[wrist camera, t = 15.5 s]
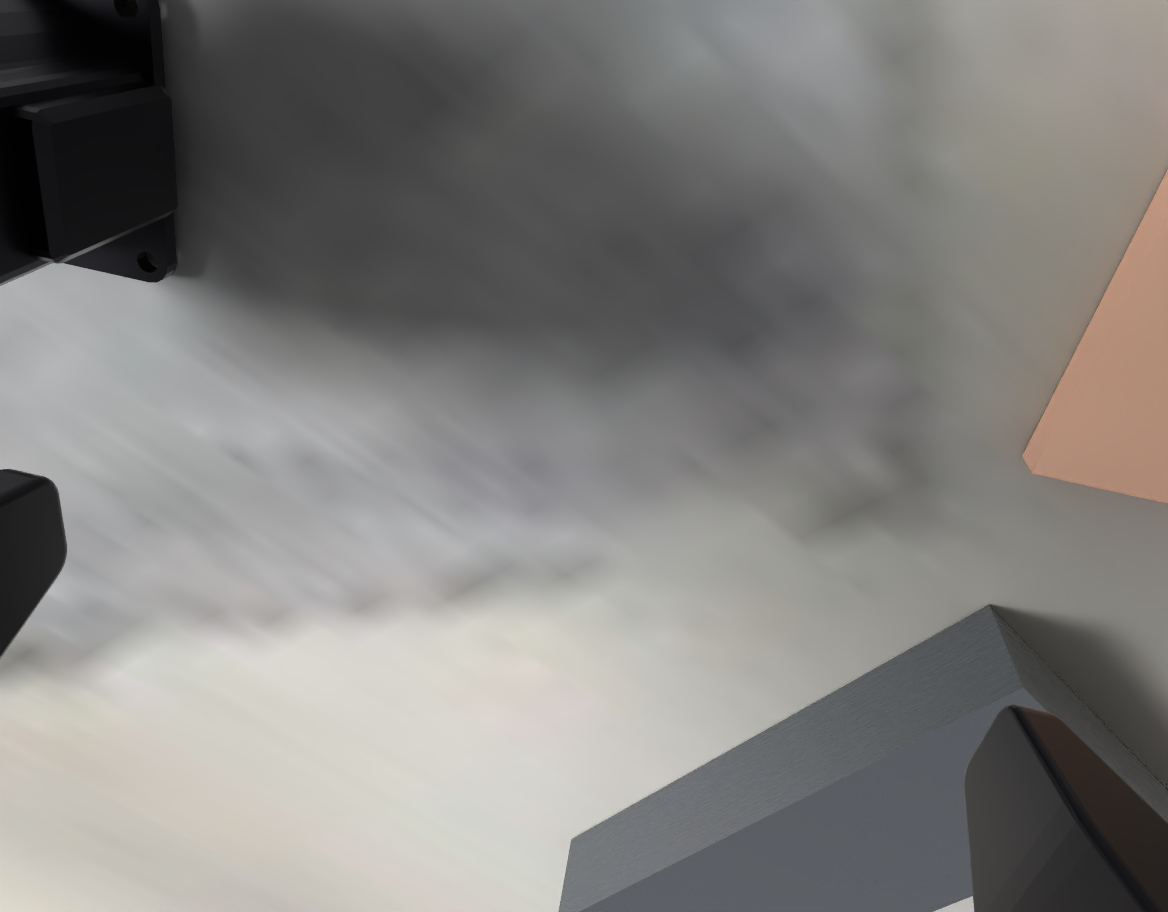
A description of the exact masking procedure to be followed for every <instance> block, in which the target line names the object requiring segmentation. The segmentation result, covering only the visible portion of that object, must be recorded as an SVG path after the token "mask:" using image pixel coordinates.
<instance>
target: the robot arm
mask: <svg viewBox="0 0 1168 912" xmlns="http://www.w3.org/2000/svg"><path fill="white" fill-rule="evenodd" d="M135 1H136V4H137V7H138V11H137V15H136V16H135V17H134V16H132V15H131V14H130V12H129V11H128V10H127V7H126V3H125V2H126V0H0V286H1V285H3V284H6V283H8V282H10V281H13V280H15V279H17V278H19V277H22V276H24V275H26V274H29V273H31V272H33V271H35V270H38V269H40V268H42V267H45V266H47V265H49V264H51V263H65V264H70V265H74V266H79V267H83V268H88V269H92V270H97V271H101V272H106V273H110V274H115V275H119V276H124V277H128V278H132V279H137V280H141V281H146V282H158V281H161V280H163V279H164V278H166V277H168V276H170V275H172V273H173V272H174V271H175V269H176V263H177V260H176V245H175V230H174V215H173V211H174V210H175V209H176V208H177V204H178V203H177V187H176V172H175V156H174V140H173V124H172V108H171V99H170V97H169V96H168V94H167V92H166V91H165V78H164V62H163V47H162V32H161V17H160V8H159V3H158V0H135ZM147 252H148V253H150V254H152V255H153V256H154V257H155V259H156V261H157V264H158V266H157V267H155V266H153V265H152V264H151V263H150V262H149V261H148V258H147ZM66 554H67V542H66V536H65V530H64V523H63V517H62V511H61V505H60V498H59V493H58V489H57V487H56V486H55V484H54V483H53V481H51V480H50V479H48V478H46V477H44V476H39V475H35V474H31V473H27V472H22V471H18V470H12V469H3V470H0V659H1V657H2V656H3V654H4V653H5V651H6V650H7V649H8V647H9V646H10V644H11V643H12V641H13V640H14V638H15V637H16V636H17V634H18V633H19V631H20V630H21V628H22V627H23V626H24V624H25V623H26V621H27V620H28V618H29V617H30V616H31V614H32V613H33V611H34V610H35V608H36V607H37V605H38V604H39V603H40V601H41V600H42V598H43V597H44V595H45V594H46V593H47V591H48V590H49V588H50V587H51V585H52V584H53V583H54V581H55V580H56V578H57V577H58V575H59V574H60V572H61V570H62V568H63V566H64V563H65V559H66ZM964 798H965V809H966V821H967V832H968V844H969V855H970V866H971V878H972V889H973V900H974V912H1168V822H1167V821H1166V820H1164V819H1163V818H1162V817H1161V816H1160V815H1159V814H1158V813H1157V812H1156V811H1155V810H1154V809H1153V808H1152V807H1151V806H1150V805H1149V804H1148V803H1147V802H1146V801H1145V800H1144V799H1143V798H1142V797H1141V796H1140V795H1139V794H1138V793H1137V792H1136V791H1135V790H1133V789H1132V788H1131V787H1130V786H1129V785H1128V784H1127V783H1126V782H1125V781H1124V780H1123V779H1122V778H1121V777H1120V776H1119V775H1118V774H1117V773H1116V772H1115V771H1114V770H1113V769H1112V768H1111V767H1110V766H1109V765H1108V764H1107V763H1106V762H1105V761H1104V760H1102V759H1101V758H1100V757H1099V756H1098V755H1097V754H1096V753H1095V752H1094V751H1093V750H1092V749H1091V748H1090V747H1089V746H1088V745H1087V744H1086V743H1085V742H1084V741H1083V740H1082V739H1081V738H1080V737H1079V736H1078V735H1077V734H1076V733H1075V732H1074V731H1073V730H1071V729H1070V728H1069V727H1068V726H1067V725H1066V724H1065V723H1064V722H1063V721H1062V720H1061V719H1060V718H1059V717H1057V716H1056V715H1054V714H1052V713H1049V712H1046V711H1042V710H1037V709H1033V708H1029V707H1024V706H1020V705H1014V704H1013V705H1007V706H1005V707H1004V708H1002V709H1001V710H1000V711H999V712H998V714H997V715H996V717H995V718H994V720H993V722H992V723H991V725H990V727H989V728H988V730H987V732H986V733H985V735H984V737H983V738H982V740H981V742H980V743H979V745H978V747H977V748H976V750H975V752H974V753H973V755H972V757H971V758H970V760H969V762H968V765H967V768H966V771H965V776H964Z"/></svg>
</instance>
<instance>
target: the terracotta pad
mask: <svg viewBox="0 0 1168 912" xmlns="http://www.w3.org/2000/svg"><path fill="white" fill-rule="evenodd" d="M1022 458H1023V459H1024V461H1025V463H1026V464H1027V466H1028V468H1029V469H1030V471H1031V472H1032V474H1037V475H1041V476H1046V477H1050V478H1055V479H1059V480H1064V481H1068V482H1073V483H1077V484H1081V485H1086V486H1090V487H1095V488H1099V489H1104V490H1108V491H1113V492H1117V493H1122V494H1126V495H1131V496H1135V497H1140V498H1144V499H1149V500H1153V501H1158V502H1162V503H1167V504H1168V170H1167V172H1166V174H1165V176H1164V178H1163V180H1162V182H1161V184H1160V185H1159V187H1158V189H1157V191H1156V193H1155V195H1154V197H1153V199H1152V201H1151V203H1150V205H1149V207H1148V209H1147V211H1146V213H1145V215H1144V217H1143V219H1142V221H1141V223H1140V225H1139V227H1138V229H1137V231H1136V233H1135V235H1134V237H1133V239H1132V241H1131V243H1130V245H1129V246H1128V248H1127V250H1126V252H1125V254H1124V256H1123V258H1122V260H1121V262H1120V264H1119V266H1118V268H1117V270H1116V272H1115V274H1114V276H1113V278H1112V280H1111V282H1110V284H1109V286H1108V288H1107V290H1106V292H1105V294H1104V296H1103V298H1102V300H1101V302H1100V304H1099V306H1098V307H1097V309H1096V311H1095V313H1094V315H1093V317H1092V319H1091V321H1090V323H1089V325H1088V327H1087V329H1086V331H1085V333H1084V335H1083V337H1082V339H1081V341H1080V343H1079V345H1078V347H1077V349H1076V351H1075V353H1074V355H1073V357H1072V359H1071V361H1070V363H1069V365H1068V366H1067V368H1066V370H1065V372H1064V374H1063V376H1062V378H1061V380H1060V382H1059V384H1058V386H1057V388H1056V390H1055V392H1054V394H1053V396H1052V398H1051V400H1050V402H1049V404H1048V406H1047V408H1046V410H1045V412H1044V414H1043V416H1042V418H1041V420H1040V422H1039V424H1038V426H1037V427H1036V429H1035V431H1034V433H1033V435H1032V437H1031V439H1030V441H1029V443H1028V445H1027V447H1026V449H1025V451H1024V453H1023V455H1022Z"/></svg>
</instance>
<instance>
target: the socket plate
mask: <svg viewBox="0 0 1168 912" xmlns="http://www.w3.org/2000/svg"><path fill="white" fill-rule="evenodd" d="M1013 704H1014V705H1020V706H1024V707H1029V708H1033V709H1037V710H1042V711H1046V712H1049V713H1052V714H1054V715H1056V716H1057V717H1059V718H1060V719H1061V720H1062V721H1063V722H1064V723H1065V724H1066V725H1067V726H1068V727H1069V728H1070V729H1071V730H1073V731H1074V732H1075V733H1076V734H1077V735H1078V736H1079V737H1080V738H1081V739H1082V740H1083V741H1084V742H1085V743H1086V744H1087V745H1088V746H1089V747H1090V748H1091V749H1092V750H1093V751H1094V752H1095V753H1096V754H1097V755H1098V756H1099V757H1100V758H1101V759H1102V760H1104V761H1105V762H1106V763H1107V764H1108V765H1109V766H1110V767H1111V768H1112V769H1113V770H1114V771H1115V772H1116V773H1117V774H1118V775H1119V776H1120V777H1121V778H1122V779H1123V780H1124V781H1125V782H1126V783H1127V784H1128V785H1129V786H1130V787H1131V788H1132V789H1133V790H1135V791H1136V792H1137V793H1138V794H1139V795H1140V796H1141V797H1142V798H1143V799H1144V800H1145V801H1146V802H1147V803H1148V804H1149V805H1150V806H1151V807H1152V808H1153V809H1154V810H1155V811H1156V812H1157V813H1158V814H1159V815H1160V816H1161V817H1162V818H1163V819H1164V820H1166V821H1167V822H1168V790H1167V789H1166V788H1165V787H1164V786H1163V785H1162V784H1161V783H1160V782H1159V781H1158V779H1157V778H1156V777H1155V776H1154V775H1153V774H1152V773H1151V772H1150V771H1149V770H1148V769H1147V768H1146V767H1145V766H1144V765H1143V764H1142V763H1141V762H1140V761H1139V760H1138V759H1137V758H1136V757H1135V756H1134V755H1133V754H1132V753H1131V752H1130V751H1129V749H1128V748H1127V747H1126V746H1125V745H1124V744H1123V743H1122V742H1121V741H1120V740H1119V739H1118V738H1117V737H1116V736H1115V735H1114V734H1113V733H1112V732H1111V731H1110V730H1109V729H1108V728H1107V727H1106V726H1105V725H1104V724H1103V723H1102V722H1101V720H1100V719H1099V718H1098V717H1097V716H1096V715H1095V714H1094V713H1093V712H1092V711H1091V710H1090V709H1089V708H1088V707H1087V706H1086V705H1085V704H1084V703H1083V702H1082V701H1081V700H1080V699H1079V698H1078V697H1077V696H1076V695H1075V694H1074V693H1073V691H1072V690H1071V689H1070V688H1069V687H1068V686H1067V685H1066V684H1065V683H1064V682H1063V681H1062V680H1061V679H1060V678H1059V677H1058V676H1057V675H1056V674H1055V673H1054V672H1053V671H1052V670H1051V669H1050V668H1049V667H1048V666H1047V665H1046V664H1045V663H1044V661H1043V660H1042V659H1041V658H1040V657H1039V656H1038V655H1037V654H1036V653H1035V652H1034V651H1033V650H1032V649H1031V648H1030V647H1029V646H1028V645H1027V644H1026V643H1025V642H1024V641H1023V640H1022V639H1021V638H1020V637H1019V636H1018V635H1017V634H1016V632H1015V631H1014V630H1013V629H1012V628H1011V627H1010V626H1009V625H1008V624H1007V623H1006V622H1005V621H1004V620H1003V619H1002V618H1001V617H1000V616H999V615H998V614H997V613H996V612H995V611H994V610H993V609H992V608H991V607H990V606H989V605H988V606H986V607H984V608H983V609H981V610H979V611H977V612H976V613H974V614H972V615H970V616H968V617H967V618H965V619H963V620H961V621H960V622H958V623H956V624H954V625H952V626H951V627H949V628H947V629H945V630H944V631H942V632H940V633H938V634H936V635H935V636H933V637H931V638H929V639H928V640H926V641H924V642H922V643H920V644H919V645H917V646H915V647H913V648H911V649H910V650H908V651H906V652H904V653H903V654H901V655H899V656H897V657H895V658H894V659H892V660H890V661H888V662H887V663H885V664H883V665H881V666H879V667H878V668H876V669H874V670H872V671H871V672H869V673H867V674H865V675H863V676H862V677H860V678H858V679H856V680H855V681H853V682H851V683H849V684H847V685H846V686H844V687H842V688H840V689H839V690H837V691H835V692H833V693H831V694H830V695H828V696H826V697H824V698H822V699H821V700H819V701H817V702H815V703H814V704H812V705H810V706H808V707H806V708H805V709H803V710H801V711H799V712H798V713H796V714H794V715H792V716H790V717H789V718H787V719H785V720H783V721H782V722H780V723H778V724H776V725H774V726H773V727H771V728H769V729H767V730H766V731H764V732H762V733H760V734H758V735H757V736H755V737H753V738H751V739H750V740H748V741H746V742H744V743H742V744H741V745H739V746H737V747H735V748H733V749H732V750H730V751H728V752H726V753H725V754H723V755H721V756H719V757H717V758H716V759H714V760H712V761H710V762H709V763H707V764H705V765H703V766H701V767H700V768H698V769H696V770H694V771H693V772H691V773H689V774H687V775H685V776H684V777H682V778H680V779H678V780H677V781H675V782H673V783H671V784H669V785H668V786H666V787H664V788H662V789H661V790H659V791H657V792H655V793H653V794H652V795H650V796H648V797H646V798H644V799H643V800H641V801H639V802H637V803H636V804H634V805H632V806H630V807H628V808H627V809H625V810H623V811H621V812H620V813H618V814H616V815H614V816H612V817H611V818H609V819H607V820H605V821H604V822H602V823H600V824H598V825H596V826H595V827H593V828H591V829H589V830H588V831H586V832H584V833H582V834H580V835H579V836H577V837H575V838H573V839H572V840H571V844H570V850H569V856H568V862H567V867H566V873H565V879H564V884H563V890H562V896H561V901H560V907H559V912H933V911H936V910H938V909H941V908H943V907H946V906H948V905H951V904H953V903H956V902H958V901H960V900H963V899H965V898H968V897H970V896H973V889H972V878H971V866H970V855H969V844H968V832H967V821H966V809H965V798H964V776H965V771H966V768H967V765H968V762H969V760H970V758H971V757H972V755H973V753H974V752H975V750H976V748H977V747H978V745H979V743H980V742H981V740H982V738H983V737H984V735H985V733H986V732H987V730H988V728H989V727H990V725H991V723H992V722H993V720H994V718H995V717H996V715H997V714H998V712H999V711H1000V710H1001V709H1002V708H1004V707H1005V706H1007V705H1013Z"/></svg>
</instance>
